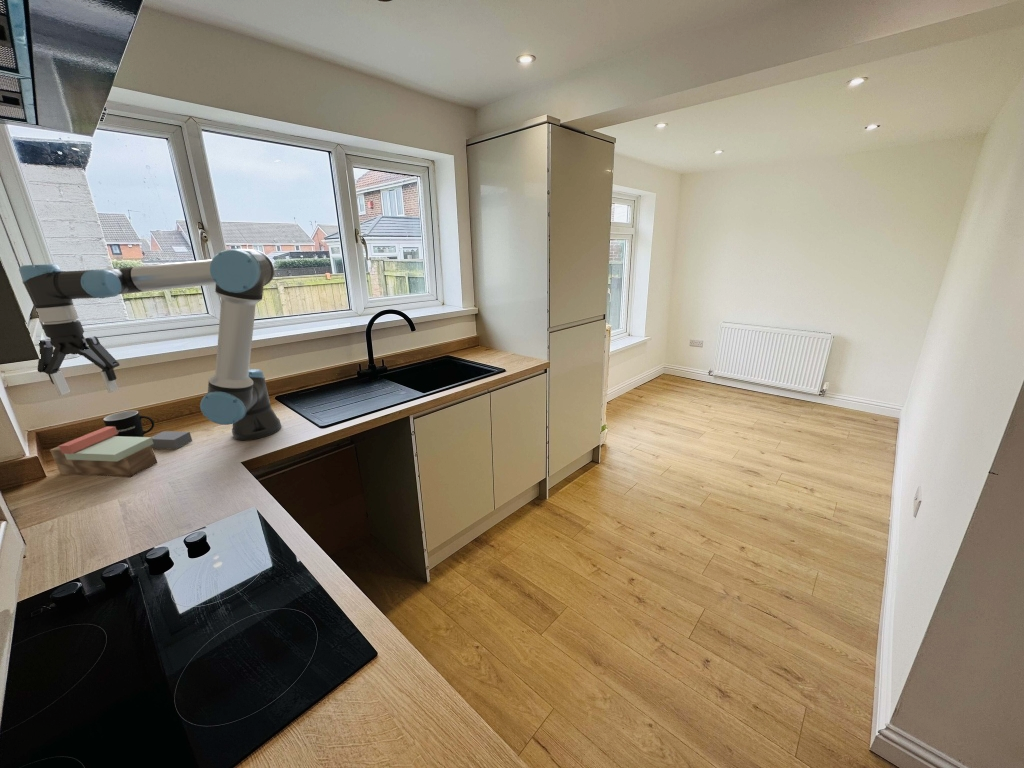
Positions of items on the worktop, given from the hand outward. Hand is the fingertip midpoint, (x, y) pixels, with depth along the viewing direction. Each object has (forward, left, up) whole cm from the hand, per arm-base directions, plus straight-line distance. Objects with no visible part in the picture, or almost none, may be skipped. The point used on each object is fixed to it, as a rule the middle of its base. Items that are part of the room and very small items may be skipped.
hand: (89, 392), depth 120 cm
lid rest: (-7, -12, -24) cm, 27 cm away
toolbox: (-2, +4, -24) cm, 24 cm away
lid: (-5, +4, -18) cm, 19 cm away
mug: (+9, -14, -24) cm, 29 cm away
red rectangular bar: (+1, +4, -15) cm, 15 cm away
